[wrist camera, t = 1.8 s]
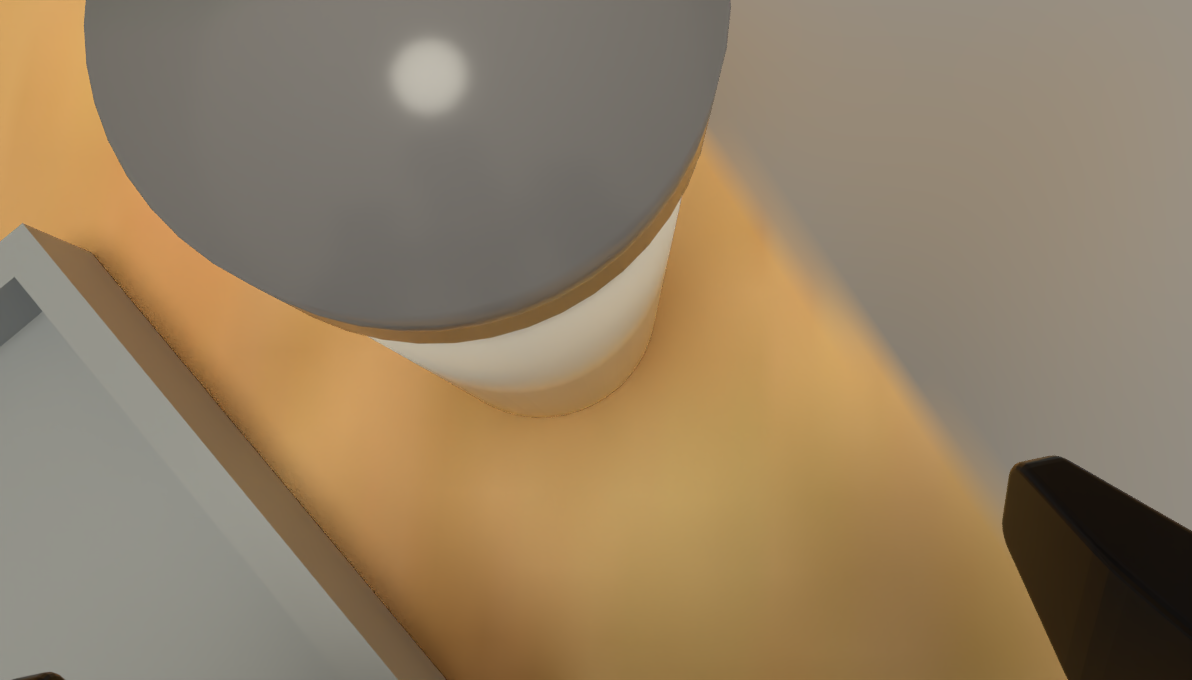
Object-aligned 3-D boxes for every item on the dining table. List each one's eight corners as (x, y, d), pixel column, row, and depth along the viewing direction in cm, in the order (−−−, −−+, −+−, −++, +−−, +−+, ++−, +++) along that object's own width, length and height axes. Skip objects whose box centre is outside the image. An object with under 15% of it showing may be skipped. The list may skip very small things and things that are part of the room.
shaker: (709, 311, 21) (867, 12, 7) (531, 472, 20) (363, 458, 7) (552, 144, 22) (440, -403, 8) (377, 296, 21) (-43, -20, 8)
